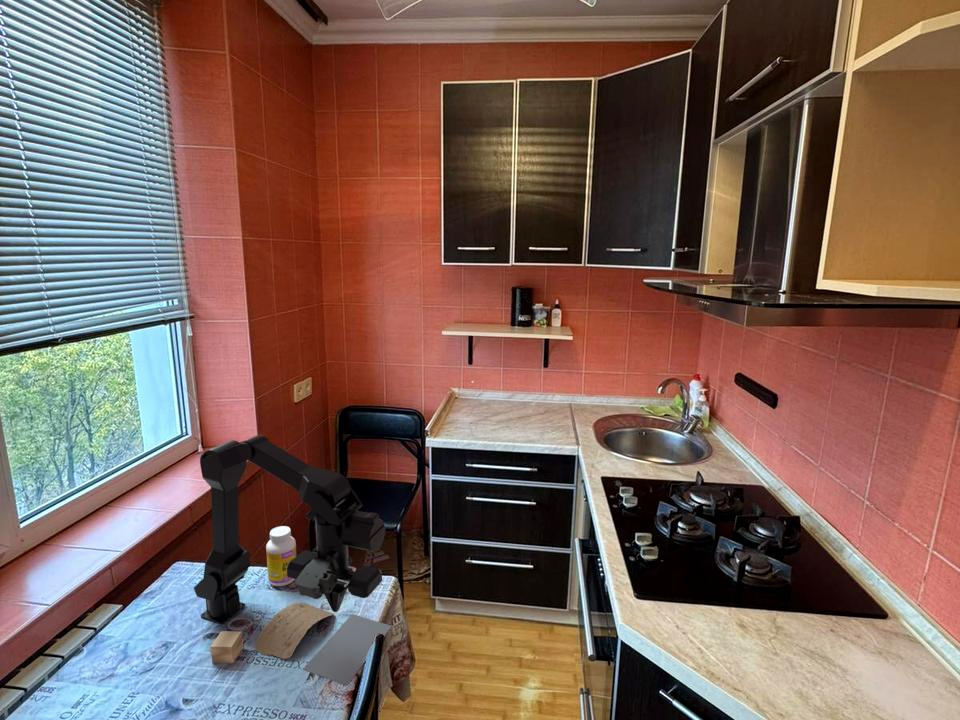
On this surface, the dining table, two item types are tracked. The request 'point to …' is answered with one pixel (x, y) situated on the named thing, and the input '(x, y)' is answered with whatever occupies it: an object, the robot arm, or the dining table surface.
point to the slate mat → (346, 649)
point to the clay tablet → (288, 629)
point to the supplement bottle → (280, 555)
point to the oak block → (226, 647)
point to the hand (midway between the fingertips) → (336, 610)
